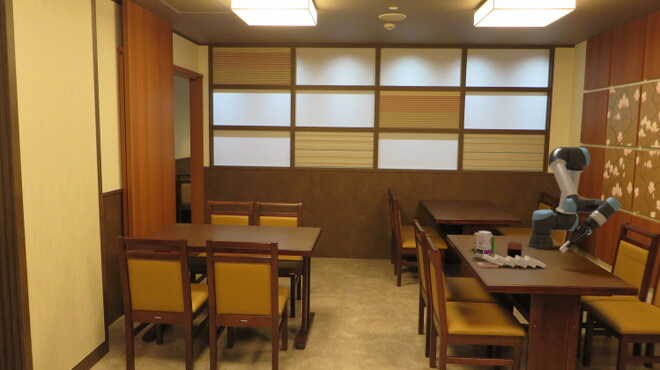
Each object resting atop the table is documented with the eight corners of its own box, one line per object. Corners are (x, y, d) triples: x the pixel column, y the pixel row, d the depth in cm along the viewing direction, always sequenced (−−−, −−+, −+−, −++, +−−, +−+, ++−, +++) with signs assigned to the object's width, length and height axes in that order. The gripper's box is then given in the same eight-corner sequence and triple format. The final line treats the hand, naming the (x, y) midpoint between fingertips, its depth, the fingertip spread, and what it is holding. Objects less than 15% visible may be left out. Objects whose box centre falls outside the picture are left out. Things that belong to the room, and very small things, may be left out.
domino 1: (495, 262, 262) (477, 262, 262) (498, 264, 257) (480, 264, 257) (495, 266, 263) (476, 265, 262) (498, 268, 258) (480, 268, 257)
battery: (506, 256, 281) (507, 240, 279) (518, 257, 280) (519, 240, 279) (509, 258, 276) (510, 241, 275) (521, 259, 276) (522, 242, 275)
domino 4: (523, 262, 263) (507, 255, 262) (527, 264, 258) (510, 257, 257) (522, 265, 263) (505, 258, 262) (526, 268, 258) (509, 261, 257)
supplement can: (490, 256, 280) (492, 231, 278) (490, 260, 272) (492, 234, 271) (476, 255, 283) (477, 230, 281) (475, 258, 275) (477, 232, 273)
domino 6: (541, 262, 263) (525, 255, 262) (546, 264, 258) (529, 257, 257) (539, 265, 263) (523, 258, 262) (544, 268, 258) (528, 260, 257)
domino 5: (532, 262, 263) (516, 254, 262) (536, 264, 258) (520, 257, 257) (530, 265, 263) (514, 258, 262) (534, 268, 258) (518, 260, 257)
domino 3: (512, 261, 263) (495, 254, 263) (515, 263, 258) (498, 256, 258) (510, 265, 263) (493, 257, 263) (513, 267, 258) (496, 259, 258)
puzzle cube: (489, 249, 299) (490, 233, 298) (493, 253, 289) (494, 236, 288) (473, 248, 300) (474, 232, 299) (476, 252, 290) (477, 236, 289)
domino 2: (500, 260, 263) (483, 253, 263) (503, 262, 258) (486, 255, 258) (499, 264, 263) (482, 257, 263) (502, 266, 258) (485, 259, 258)
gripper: (583, 213, 265) (551, 243, 267) (597, 218, 252) (563, 249, 254) (591, 223, 266) (559, 252, 268) (606, 228, 253) (572, 259, 255)
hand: (561, 250), depth 261 cm, fingers closed
